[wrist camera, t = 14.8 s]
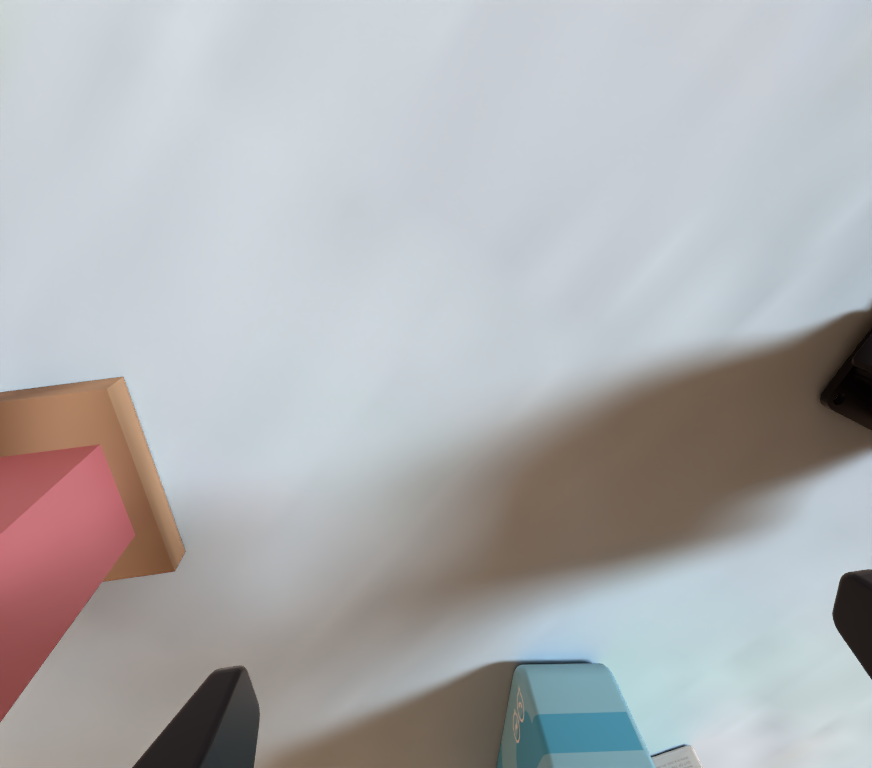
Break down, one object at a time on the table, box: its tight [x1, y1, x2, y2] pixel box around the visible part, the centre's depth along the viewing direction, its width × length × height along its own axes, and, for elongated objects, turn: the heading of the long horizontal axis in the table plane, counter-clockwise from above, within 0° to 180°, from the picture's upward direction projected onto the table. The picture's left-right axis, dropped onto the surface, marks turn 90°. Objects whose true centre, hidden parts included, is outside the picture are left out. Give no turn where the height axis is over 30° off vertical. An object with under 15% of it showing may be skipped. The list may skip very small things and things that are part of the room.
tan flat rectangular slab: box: [0, 377, 186, 582], centre depth 20 cm, size 10×8×1 cm
